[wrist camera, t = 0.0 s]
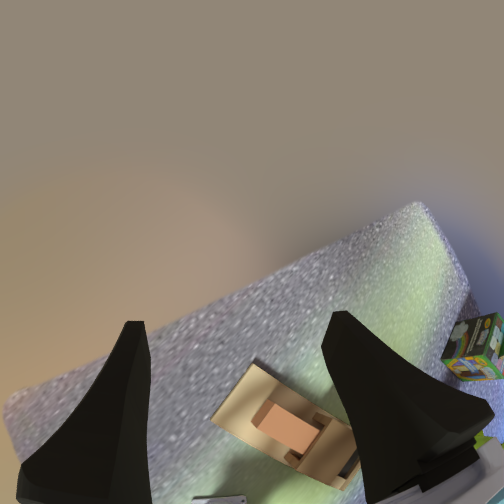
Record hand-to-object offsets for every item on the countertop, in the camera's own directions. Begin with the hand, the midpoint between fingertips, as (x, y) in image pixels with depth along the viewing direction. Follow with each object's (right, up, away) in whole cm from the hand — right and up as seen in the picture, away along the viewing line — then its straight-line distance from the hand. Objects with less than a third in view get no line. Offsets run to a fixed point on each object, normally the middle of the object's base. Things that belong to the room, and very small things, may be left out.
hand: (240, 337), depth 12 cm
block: (+7, -22, +27) cm, 36 cm away
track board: (+7, -24, +28) cm, 38 cm away
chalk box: (+41, -17, +38) cm, 59 cm away
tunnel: (+10, -25, +27) cm, 38 cm away
